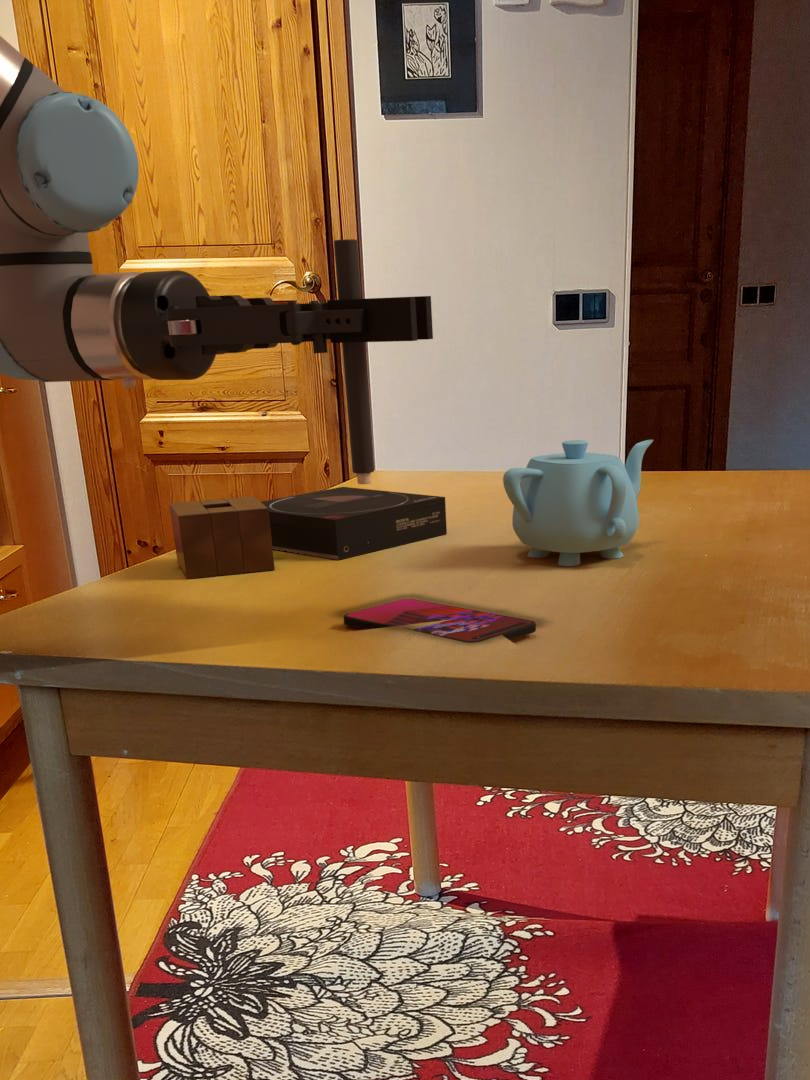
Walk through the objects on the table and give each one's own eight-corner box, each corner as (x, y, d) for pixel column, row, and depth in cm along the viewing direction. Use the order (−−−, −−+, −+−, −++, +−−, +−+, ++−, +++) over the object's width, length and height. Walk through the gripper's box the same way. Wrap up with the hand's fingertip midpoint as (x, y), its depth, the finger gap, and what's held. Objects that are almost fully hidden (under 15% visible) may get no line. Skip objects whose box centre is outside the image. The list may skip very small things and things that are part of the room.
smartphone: (407, 597, 99) (541, 621, 90) (408, 607, 100) (541, 632, 90) (337, 615, 94) (472, 643, 85) (338, 626, 95) (472, 655, 85)
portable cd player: (342, 520, 141) (339, 486, 139) (446, 534, 130) (445, 496, 129) (233, 543, 130) (228, 506, 128) (338, 559, 119) (335, 519, 118)
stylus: (356, 485, 86) (336, 239, 79) (351, 483, 87) (331, 240, 80) (377, 483, 86) (359, 238, 79) (372, 481, 87) (354, 240, 81)
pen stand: (186, 579, 113) (178, 515, 111) (177, 563, 121) (169, 503, 118) (274, 570, 116) (268, 508, 113) (260, 554, 123) (253, 496, 121)
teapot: (497, 571, 114) (493, 451, 109) (533, 536, 126) (532, 427, 121) (625, 577, 111) (627, 453, 105) (650, 540, 123) (654, 428, 117)
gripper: (215, 373, 97) (471, 370, 87) (91, 387, 85) (371, 386, 75) (202, 271, 93) (466, 257, 84) (72, 272, 82) (362, 255, 72)
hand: (421, 318), depth 80 cm, fingers closed on stylus, 1 cm apart
